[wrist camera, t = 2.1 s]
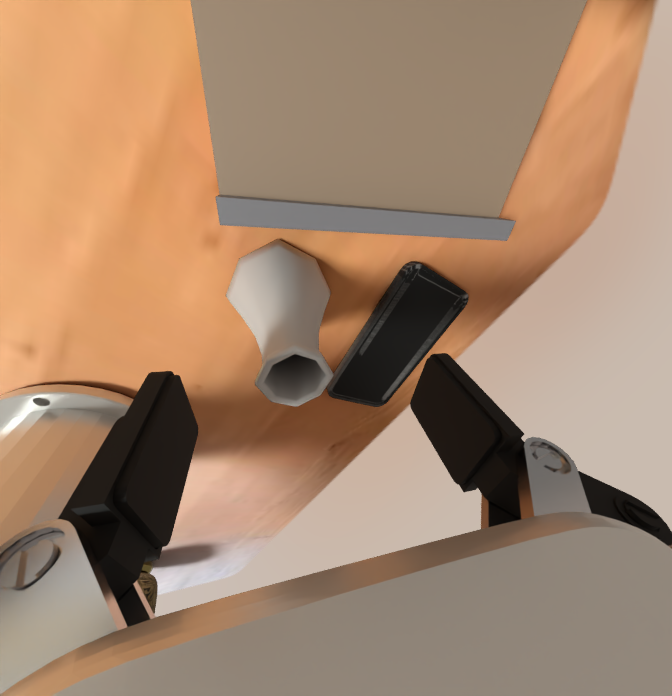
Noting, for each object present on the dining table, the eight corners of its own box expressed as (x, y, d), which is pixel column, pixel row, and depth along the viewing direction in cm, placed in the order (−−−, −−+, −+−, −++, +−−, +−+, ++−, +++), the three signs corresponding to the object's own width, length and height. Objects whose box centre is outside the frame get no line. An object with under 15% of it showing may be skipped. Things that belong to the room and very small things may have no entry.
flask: (345, 290, 20) (402, 368, 12) (284, 348, 21) (298, 450, 14) (275, 216, 16) (291, 259, 8) (206, 294, 17) (161, 395, 9)
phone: (473, 296, 22) (382, 408, 28) (465, 291, 23) (378, 401, 29) (412, 258, 19) (323, 395, 25) (405, 254, 20) (321, 388, 26)
